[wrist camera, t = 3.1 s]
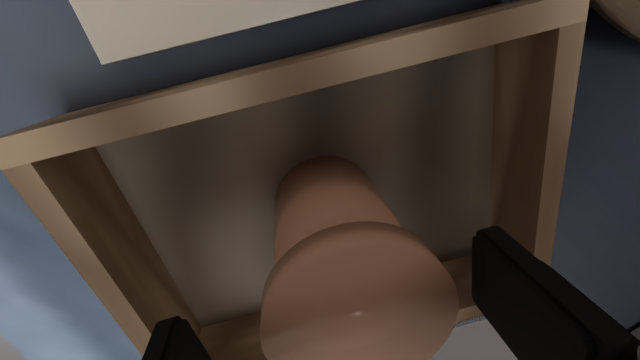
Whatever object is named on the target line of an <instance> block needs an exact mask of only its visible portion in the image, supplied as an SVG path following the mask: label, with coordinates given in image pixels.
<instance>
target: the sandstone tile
mask: <svg viewBox="0 0 640 360" xmlns="http://www.w3.org/2000/svg"><path fill="white" fill-rule="evenodd" d="M360 1H364V0H69V2H70V4H71V5H72V7H73V9H74V11H75V13H76V15H77V17H78V19H79V21H80V23H81V25H82V27H83V29H84V31H85V33H86V35H87V37H88V39H89V41H90V43H91V45H92V46H93V48H94V50H95V52H96V54H97V56H98V58H99V60H100V62H101V64H102V65H104V64H111V63H116V62H120V61H124V60H128V59H132V58H136V57H140V56H144V55H148V54H152V53H156V52H160V51H164V50H168V49H172V48H176V47H180V46H184V45H188V44H192V43H196V42H200V41H204V40H208V39H212V38H216V37H220V36H224V35H228V34H232V33H236V32H240V31H244V30H248V29H252V28H256V27H260V26H264V25H268V24H272V23H276V22H280V21H284V20H288V19H292V18H296V17H300V16H304V15H308V14H312V13H316V12H320V11H324V10H328V9H332V8H336V7H340V6H344V5H348V4H352V3H356V2H360Z"/></svg>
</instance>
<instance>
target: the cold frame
mask: <svg viewBox="0 0 640 360" xmlns="http://www.w3.org/2000/svg"><path fill="white" fill-rule="evenodd" d="M589 1H590V0H517V1H511V2H504V3H500V4H496V5H492V6H488V7H484V8H480V9H476V10H472V11H468V12H464V13H460V14H456V15H452V16H448V17H445V18H441V19H437V20H433V21H429V22H425V23H421V24H417V25H413V26H409V27H405V28H401V29H397V30H393V31H389V32H385V33H381V34H377V35H373V36H369V37H365V38H361V39H358V40H354V41H350V42H346V43H342V44H338V45H334V46H330V47H326V48H322V49H318V50H314V51H310V52H306V53H302V54H298V55H294V56H290V57H286V58H282V59H278V60H274V61H271V62H267V63H263V64H259V65H255V66H251V67H247V68H243V69H239V70H235V71H231V72H227V73H223V74H219V75H215V76H211V77H207V78H203V79H199V80H195V81H191V82H187V83H183V84H180V85H176V86H172V87H168V88H164V89H160V90H156V91H152V92H148V93H144V94H140V95H136V96H132V97H128V98H124V99H120V100H116V101H112V102H108V103H104V104H100V105H96V106H93V107H89V108H85V109H81V110H77V111H73V112H69V113H65V114H62V115H60V116H57V117H54V118H51V119H48V120H45V121H42V122H40V123H37V124H34V125H31V126H28V127H25V128H22V129H19V130H17V131H14V132H11V133H8V134H5V135H2V136H0V170H1V171H2V172H3V173H4V175H5V176H6V177H7V179H8V180H9V181H10V183H11V184H12V185H13V187H14V188H15V189H16V191H17V192H18V193H19V194H20V196H21V197H22V198H23V200H24V201H25V202H26V204H27V205H28V206H29V208H30V209H31V210H32V212H33V213H34V214H35V215H36V217H37V218H38V219H39V221H40V222H41V223H42V225H43V226H44V227H45V229H46V230H47V231H48V233H49V234H50V235H51V236H52V238H53V239H54V240H55V242H56V243H57V244H58V246H59V247H60V248H61V250H62V251H63V252H64V254H65V255H66V256H67V257H68V259H69V260H70V261H71V263H72V264H73V265H74V267H75V268H76V269H77V271H78V272H79V273H80V275H81V276H82V277H83V278H84V280H85V281H86V282H87V284H88V285H89V286H90V288H91V289H92V290H93V292H94V293H95V294H96V296H97V297H98V298H99V299H100V301H101V302H102V303H103V305H104V306H105V307H106V309H107V310H108V311H109V313H110V314H111V315H112V317H113V318H114V319H115V320H116V322H117V323H118V324H119V326H120V327H121V328H122V330H123V331H124V332H125V334H126V335H127V336H128V338H129V339H130V340H131V341H132V343H133V344H134V345H135V347H136V348H137V349H138V351H139V352H140V353H141V355H142V356H143V355H144V353H145V350H146V347H147V345H148V342H149V340H150V337H151V334H152V332H153V329H154V327H155V325H156V323H157V322H158V321H161V320H164V319H168V318H171V317H175V316H180V317H181V318H182V319H186V320H187V321H188V322H189V324H190V325H191V327H192V329H193V330H194V332H195V333H196V335H197V336H198V338H199V340H200V341H201V343H202V344H203V346H204V348H205V349H206V351H207V352H208V354H209V355H210V357H211V359H212V360H267V358H266V357H265V355H264V352H263V350H262V347H261V341H260V321H261V304H262V293H263V289H264V285H265V282H266V280H267V277H268V275H269V274H270V272H271V270H272V268H273V267H274V251H275V197H276V192H277V189H278V187H279V185H280V183H281V181H282V180H283V178H284V177H285V175H286V174H287V173H288V172H289V171H290V170H291V169H293V168H294V167H295V166H297V165H298V164H300V163H302V162H304V161H306V160H308V159H311V158H315V157H320V156H336V157H341V158H344V159H347V160H349V161H351V162H353V163H355V164H356V165H358V166H359V167H360V168H361V169H362V170H363V171H364V172H365V173H366V174H367V176H368V177H369V179H370V180H371V182H372V183H373V185H374V186H375V188H376V189H377V191H378V192H379V194H380V195H381V197H382V198H383V200H384V201H385V203H386V204H387V206H388V207H389V209H390V210H391V212H392V213H393V215H394V216H395V218H396V220H397V221H398V223H399V224H400V226H401V227H402V228H404V229H406V230H408V231H410V232H412V233H414V234H415V235H417V236H418V237H419V238H421V239H422V240H423V241H424V242H425V243H426V244H427V245H428V246H429V247H430V249H431V250H432V251H433V253H434V254H435V255H436V257H437V258H438V259H439V261H440V262H441V263H442V265H443V266H444V268H445V269H446V270H447V272H448V273H449V274H450V276H451V277H452V279H453V281H454V283H455V285H456V288H457V291H458V297H459V311H458V316H457V320H456V323H458V322H462V321H466V320H469V319H473V318H477V317H480V316H484V315H483V314H482V312H481V311H480V310H479V308H478V307H477V306H476V304H475V302H474V300H473V298H472V238H473V236H476V232H477V231H478V230H481V229H484V228H488V227H491V226H495V225H496V226H499V227H500V228H501V229H503V230H504V231H505V232H506V233H507V234H509V235H510V236H511V237H512V238H513V239H515V240H516V241H517V242H518V243H519V244H521V245H522V246H523V247H524V248H525V249H527V250H528V251H529V252H530V253H531V254H533V255H534V256H535V257H536V258H537V259H539V260H541V261H543V262H545V263H546V264H548V265H549V266H551V259H552V253H553V246H554V239H555V232H556V225H557V219H558V212H559V205H560V198H561V191H562V185H563V178H564V171H565V164H566V157H567V151H568V144H569V137H570V130H571V123H572V117H573V110H574V103H575V96H576V89H577V83H578V76H579V69H580V62H581V55H582V49H583V42H584V35H585V28H586V21H587V15H588V8H589Z"/></svg>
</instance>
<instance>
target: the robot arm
mask: <svg viewBox="0 0 640 360" xmlns="http://www.w3.org/2000/svg"><path fill="white" fill-rule="evenodd" d="M472 298H473V300H474V302H475V304H476V306H477V307H478V308H479V310H480V311H481V312H482V314H483V315H484V316H485V317H486V319H487V320H488V321H489V323H490V324H491V325H492V327H493V328H494V329H495V330H496V332H497V333H498V334H499V336H500V337H501V338H502V340H503V341H504V342H505V344H506V345H507V346H508V347H509V349H510V350H511V351H512V353H513V354H514V355H515V357H516V358H517V359H518V360H640V326H639V327H638V328H636V329H634V330H633V331H631V332H629V331H628V330H626V329H625V328H624V327H623V326H622V325H620V324H619V323H618V322H617V321H616V320H614V319H613V318H612V317H611V316H609V315H608V314H607V313H606V312H605V311H603V310H602V309H601V308H600V307H599V306H597V305H596V304H595V303H594V302H592V301H591V300H590V299H589V298H588V297H586V296H585V295H584V294H583V293H582V292H580V291H579V290H578V289H577V288H575V287H574V286H573V285H572V284H571V283H569V282H568V281H567V280H566V279H565V278H563V277H562V276H561V275H560V274H558V273H557V272H556V271H555V270H554V269H552V268H551V267H550V266H549V265H548V264H546V263H545V262H543V261H541V260H539V259H537V258H536V257H535V256H534V255H533V254H531V253H530V252H529V251H528V250H527V249H525V248H524V247H523V246H522V245H521V244H519V243H518V242H517V241H516V240H515V239H513V238H512V237H511V236H510V235H509V234H507V233H506V232H505V231H504V230H503V229H501V228H500V227H499V226H496V225H495V226H491V227H488V228H484V229H481V230H478V231H477V232H476V236H473V238H472ZM142 360H212V359H211V357H210V355H209V354H208V352H207V351H206V349H205V348H204V346H203V344H202V343H201V341H200V340H199V338H198V336H197V335H196V333H195V332H194V330H193V329H192V327H191V325H190V324H189V322H188V321H187V320H186V319H182V318H181V317H180V316H175V317H171V318H168V319H164V320H161V321H158V322H157V323H156V325H155V327H154V329H153V332H152V334H151V337H150V340H149V342H148V345H147V347H146V350H145V353H144V355H143V358H142Z"/></svg>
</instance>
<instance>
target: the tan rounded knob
mask: <svg viewBox="0 0 640 360" xmlns="http://www.w3.org/2000/svg"><path fill="white" fill-rule="evenodd" d="M458 311H459V297H458V291H457V288H456V285H455V283H454V281H453V279H452V277H451V276H450V274H449V273H448V272H447V270H446V269H445V268H444V266H443V265H442V263H441V262H440V261H439V259H438V258H437V257H436V255H435V254H434V253H433V251H432V250H431V249H430V247H429V246H428V245H427V244H426V243H425V242H424V241H423V240H422V239H421V238H419V237H418V236H417V235H415V234H414V233H412V232H410V231H408V230H406V229H404V228H402V227H401V226H400V224H399V223H398V221H397V220H396V218H395V216H394V215H393V213H392V212H391V210H390V209H389V207H388V206H387V204H386V203H385V201H384V200H383V198H382V197H381V195H380V194H379V192H378V191H377V189H376V188H375V186H374V185H373V183H372V182H371V180H370V179H369V177H368V176H367V174H366V173H365V172H364V171H363V170H362V169H361V168H360V167H359V166H358V165H356V164H355V163H353V162H351V161H349V160H347V159H344V158H341V157H336V156H320V157H315V158H311V159H308V160H306V161H304V162H302V163H300V164H298V165H297V166H295V167H294V168H293V169H291V170H290V171H289V172H288V173H287V174H286V175H285V177H284V178H283V180H282V181H281V183H280V185H279V187H278V189H277V192H276V197H275V251H274V267H273V268H272V270H271V272H270V274H269V275H268V277H267V280H266V282H265V285H264V289H263V293H262V304H261V321H260V341H261V347H262V350H263V352H264V355H265V357H266V358H267V360H429V359H430V358H431V357H432V356H433V355H434V354H435V353H436V352H437V351H438V350H439V349H440V348H441V347H442V345H443V344H444V343H445V341H446V340H447V339H448V337H449V335H450V333H451V332H452V330H453V328H454V325H455V323H456V320H457V316H458Z"/></svg>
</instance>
